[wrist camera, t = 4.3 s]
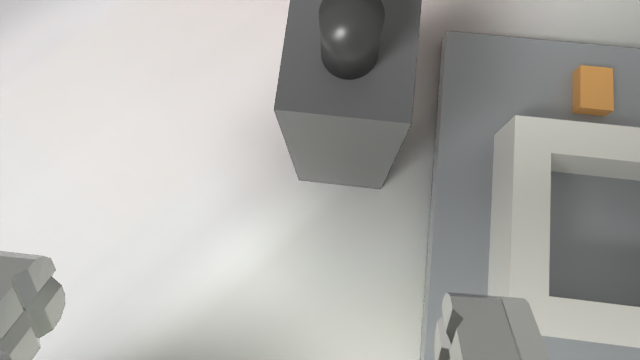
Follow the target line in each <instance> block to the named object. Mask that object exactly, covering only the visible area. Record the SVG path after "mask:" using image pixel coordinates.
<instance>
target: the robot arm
mask: <svg viewBox="0 0 640 360" xmlns="http://www.w3.org/2000/svg"><path fill="white" fill-rule="evenodd" d="M55 271H56V269H55V267H54V264H53V262H52V260H51V258H48V257H45V256H39V255H30V254H21V253H13V252H4V251H0V360H32V359H33V358H34V356H35V355H36V354H37V352H38V351H39V349H40V337H42V336H44V335H45V334H47V333H49V332H50V331H52V330H53V329H54V328H55V326H56V325H57V323H58V322H59V320H60V319H61V316H62V313H63V309H64V306H65V293H64V290H63V287H62V285H61V284H60V283H58V282H57V281H56V280H55V279H54V278H53V277H52V276H53V274H54V272H55ZM442 311H443V317H442V318H440V319H439V320H438V321H437V326H436V330H435V340H434V354H435V360H550V357H549V354H548V352H547V349H546V347H545V344H544V341H543V339H542V336H541V334H540V331H539V328H538V326H537V323H536V321H535V318H534V315H533V313H532V310H531V307H530V305H529V302H528V301H527V300H526V299H525V298H514V297H502V296H498V297H497V296H490V295H477V294H465V293H452V292H447V293H446V294H445V296H444V298H443V302H442Z"/></svg>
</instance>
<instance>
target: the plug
mask: <svg viewBox="0 0 640 360" xmlns="http://www.w3.org/2000/svg"><path fill="white" fill-rule="evenodd" d="M421 1H422V0H290V5H289V12H288V19H287V25H286V32H285V39H284V45H283V52H282V59H281V65H280V72H279V79H278V85H277V92H276V99H275V106H274V111H275V114H276V117H277V120H278V123H279V125H280V128H281V131H282V134H283V137H284V139H285V142H286V145H287V148H288V151H289V153H290V156H291V159H292V162H293V165H294V168H295V170H296V173H297V176H298V179H299V180H302V181H311V182H320V183H329V184H338V185H347V186H357V187H366V188H375V189H381V187H382V185H383V183H384V181H385V179H386V177H387V175H388V172H389V170H390V168H391V166H392V164H393V162H394V160H395V158H396V155H397V153H398V151H399V149H400V147H401V145H402V143H403V140H404V138H405V136H406V134H407V132H408V130H409V128H410V126H411V122H412V110H413V98H414V86H415V74H416V62H417V50H418V37H419V25H420V13H421Z"/></svg>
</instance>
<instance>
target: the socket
mask: <svg viewBox="0 0 640 360" xmlns="http://www.w3.org/2000/svg"><path fill="white" fill-rule="evenodd" d="M447 292H452V293H465V294H477V295H490V296H497V297H498V296H502V297H514V298H525V299H526V300H527V301H528V302H529V305H530V307H531V310H532V313H533V315H534V318H535V321H536V323H537V326H538V328H539V331H540V334H541V336H542V339H543V341H544V344H545V347H546V349H547V352H548V354H549V357H550V360H640V48H630V47H619V46H608V45H597V44H586V43H575V42H564V41H553V40H542V39H531V38H520V37H509V36H498V35H487V34H476V33H465V32H454V31H447V32H446V34H445V36H444V39H443V41H442V52H441V66H440V80H439V94H438V108H437V122H436V136H435V150H434V165H433V179H432V193H431V207H430V221H429V235H428V249H427V263H426V277H425V292H424V306H423V320H422V334H421V348H420V360H435V354H434V340H435V330H436V326H437V321H438V320H439V319H440V318H442V317H443V311H442V302H443V298H444V296H445V294H446V293H447Z"/></svg>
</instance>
